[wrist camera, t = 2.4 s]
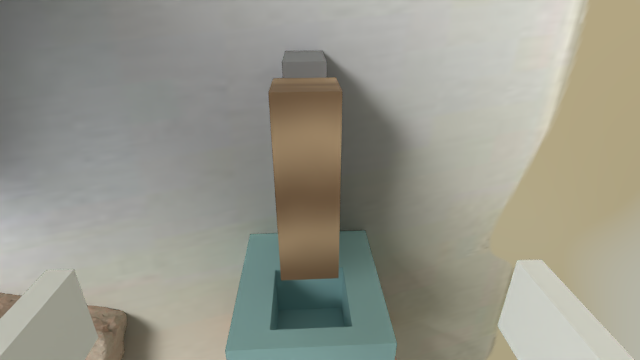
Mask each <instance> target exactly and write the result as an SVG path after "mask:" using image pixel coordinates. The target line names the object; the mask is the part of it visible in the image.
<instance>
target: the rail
mask: <svg viewBox="0 0 640 360" xmlns="http://www.w3.org/2000/svg"><path fill="white" fill-rule="evenodd" d="M282 73H283V78H327V61H326V59H325V56H324V54H323V52H322V51H285V54H284V57H283V60H282Z"/></svg>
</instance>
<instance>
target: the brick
mask: <svg viewBox="0 0 640 360" xmlns="http://www.w3.org/2000/svg"><path fill="white" fill-rule="evenodd" d="M20 297H21V296H20V295H13V294H5V293H0V318H1V317H2V316H3V315H4V314H5V313H6V312H7V311H8V310H9V309H10V308H11V307H12V306H13V305H14V304H15V303H16V302H17V301H18V300H19V299H20ZM87 307H88V310H89V313H90V315H91V318H92V321H93V324H94V327H95V330H96V332H97V335H98V339H97V340H96V342H95V344H94V345H93V347H92V348H91V350H90V352H89V353H88V355H87V357H86V358H85V360H122V357H123V354H124V351H125V349H124V346H123V345H124V343H123V342H124V335H125V334H124V333H125V329H126V327H127V316H126V314H125V313H124V312H123V311H120V310H114V309H109V308H106V307H98V306H87Z"/></svg>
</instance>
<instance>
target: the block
mask: <svg viewBox="0 0 640 360" xmlns="http://www.w3.org/2000/svg"><path fill="white" fill-rule="evenodd" d="M396 347H397V342H396V338H395V335H394V331H393V328H392V324H391V320H390V317H389V313H388V310H387V306H386V303H385V299H384V296H383V292H382V288H381V285H380V281H379V278H378V274H377V271H376V267H375V264H374V260H373V256H372V253H371V249H370V246H369V242H368V239H367V235H366V232H365V231H339V278H333V279H306V280H281V272H280V257H279V242H278V233H271V234H250V238H249V242H248V247H247V251H246V256H245V261H244V265H243V270H242V275H241V279H240V284H239V289H238V293H237V298H236V303H235V307H234V312H233V317H232V321H231V326H230V331H229V335H228V340H227V345H226V349H225V353H226V359H227V360H395V355H396Z"/></svg>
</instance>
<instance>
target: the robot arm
mask: <svg viewBox="0 0 640 360" xmlns="http://www.w3.org/2000/svg"><path fill="white" fill-rule="evenodd" d="M498 328H499V329H500V331H501V333H502V334H503V336H504V338H505V339H506V341H507V343H508V344H509V346H510V348H511V349H512V351H513V352H514V354H515V356H516V358H517V359H518V360H634V358H633V357H632V356H631V355H630V354H629V353H628V352H627V351H626V350H625V349H624V348H623V347H622V346H621V344H620V343H619V342H618V341H617V340H616V339H615V338H614V337H613V336H612V335H611V334H610V333H609V332H608V331H607V329H605V327H604V326H603V325H602V324H601V323H600V322H599V321H598V320H597V319H596V318H595V317H594V316H593V314H592V313H591V312H590V311H589V310H588V309H587V308H586V307H585V306H584V305H583V304H582V302H581V301H580V300H579V299H578V298H577V297H576V296H575V295H574V294H573V293H572V292H571V291H570V290H569V288H568V287H567V286H566V285H565V284H564V283H563V282H562V281H561V280H560V279H559V278H558V277H557V276H556V274H555V273H553V271H552V270H551V269H550V268H549V267H548V266H547V265H546V264H545V263H544V262H543V260H517V263H516V266H515V269H514V273H513V276H512V279H511V282H510V286H509V289H508V292H507V296H506V299H505V302H504V306H503V309H502V312H501V316H500V319H499V322H498ZM97 339H98V335H97V332H96V330H95V327H94V324H93V321H92V318H91V315H90V313H89V310H88V307H87V304H86V301H85V298H84V296H83V293H82V290H81V287H80V284H79V282H78V279H77V276H76V273H75V270H74V269H61V270H46V271H45V272H44V273H43V274H42V275H41V276H40V277H39V279H38V280H37V281H36V282H35V283H34V284H33V285H32V286H31V287H30V288H29V289H28V290H27V291H26V292H25V293H24V294H23V295H22V296H21V297H20V299H19V300H18V301H17V302H16V303H15V304H14V305H13V306H12V307H11V308H10V309H9V310H8V311H7V312H6V313H5V314H4V315H3V316H2V317H1V318H0V360H85V358H86V357H87V355H88V353H89V352H90V350H91V348H92V347H93V345H94V344H95V342H96V340H97Z"/></svg>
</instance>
